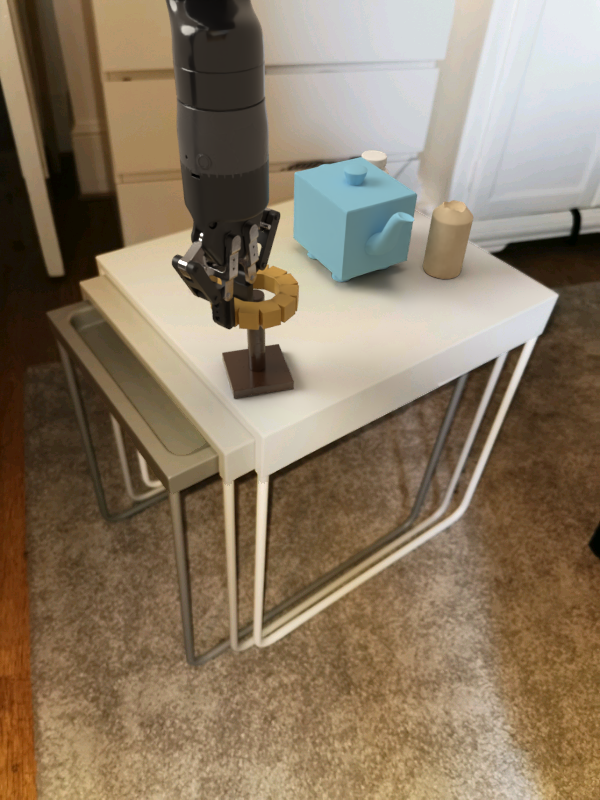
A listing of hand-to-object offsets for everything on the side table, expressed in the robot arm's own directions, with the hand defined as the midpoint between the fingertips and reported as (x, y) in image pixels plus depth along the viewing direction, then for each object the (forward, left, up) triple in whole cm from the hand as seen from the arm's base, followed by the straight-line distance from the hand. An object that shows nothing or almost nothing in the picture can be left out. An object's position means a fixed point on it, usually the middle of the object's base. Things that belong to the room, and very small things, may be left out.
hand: (233, 318), depth 66 cm
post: (+3, +2, -10) cm, 11 cm away
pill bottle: (+30, +38, -10) cm, 50 cm away
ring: (+3, +2, 0) cm, 4 cm away
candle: (+34, +18, -10) cm, 40 cm away
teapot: (+22, +22, -10) cm, 33 cm away
